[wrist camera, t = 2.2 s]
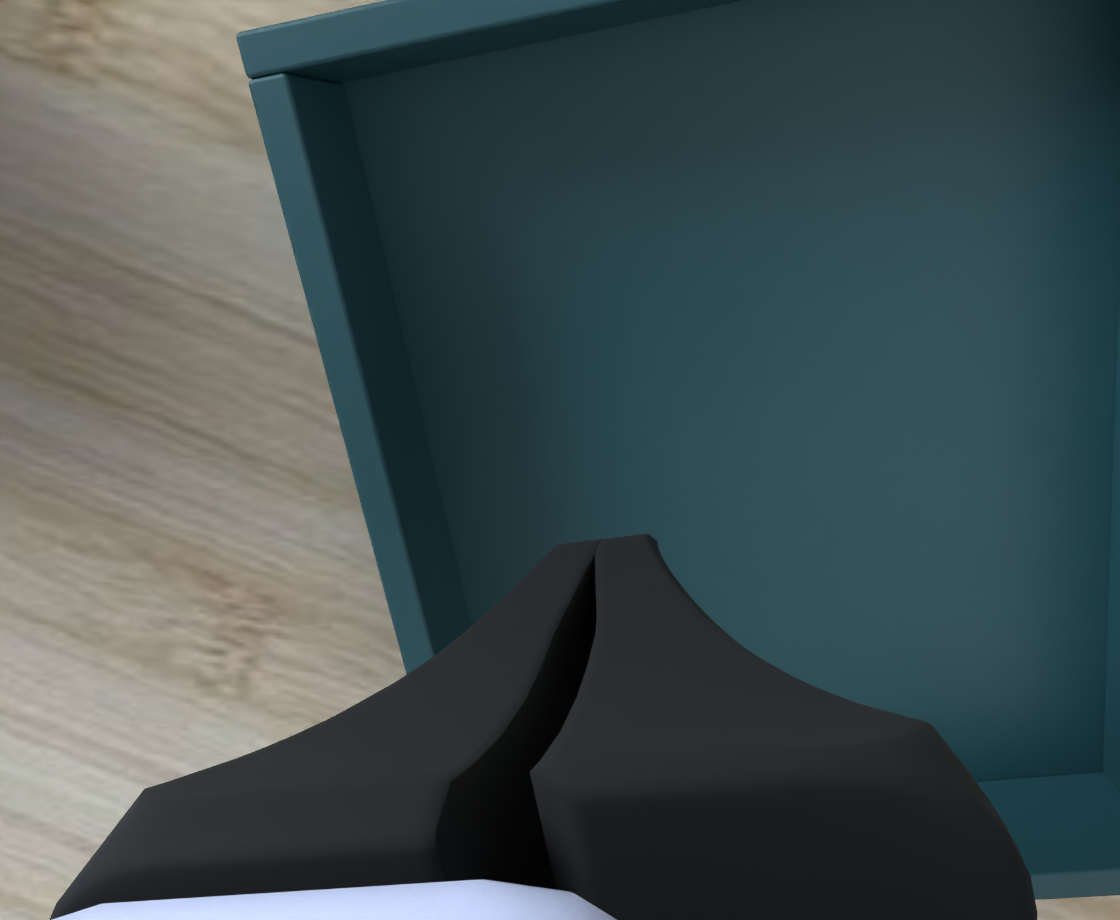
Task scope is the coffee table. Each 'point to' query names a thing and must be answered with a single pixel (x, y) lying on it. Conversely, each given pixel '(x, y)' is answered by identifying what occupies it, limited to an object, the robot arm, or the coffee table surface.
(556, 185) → the tray
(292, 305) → the coffee table surface
